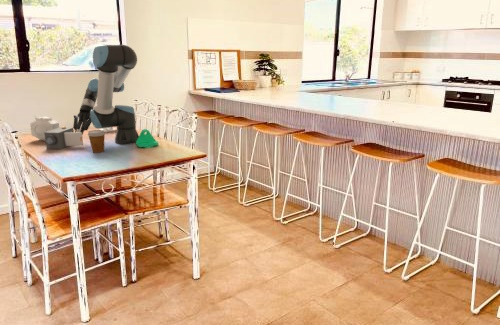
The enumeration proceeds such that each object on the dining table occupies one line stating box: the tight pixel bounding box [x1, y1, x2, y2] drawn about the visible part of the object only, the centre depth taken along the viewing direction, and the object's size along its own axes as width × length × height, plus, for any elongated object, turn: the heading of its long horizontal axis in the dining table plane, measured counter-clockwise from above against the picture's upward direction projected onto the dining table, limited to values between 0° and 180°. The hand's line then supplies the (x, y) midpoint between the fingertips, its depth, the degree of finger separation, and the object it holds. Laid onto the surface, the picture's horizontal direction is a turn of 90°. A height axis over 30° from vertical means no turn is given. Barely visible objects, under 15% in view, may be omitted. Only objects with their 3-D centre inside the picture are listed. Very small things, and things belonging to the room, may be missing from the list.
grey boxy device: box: [44, 126, 75, 150], centre depth 248 cm, size 19×9×11 cm, turn 173°
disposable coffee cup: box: [87, 129, 106, 154], centre depth 235 cm, size 10×10×12 cm
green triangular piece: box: [135, 128, 159, 149], centre depth 248 cm, size 12×8×10 cm, turn 120°
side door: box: [64, 131, 84, 147], centre depth 246 cm, size 11×1×8 cm, turn 94°
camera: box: [30, 115, 60, 142], centre depth 263 cm, size 11×18×16 cm, turn 76°
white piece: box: [99, 127, 117, 133], centre depth 296 cm, size 12×11×15 cm
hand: (76, 139), depth 248 cm, fingers closed
